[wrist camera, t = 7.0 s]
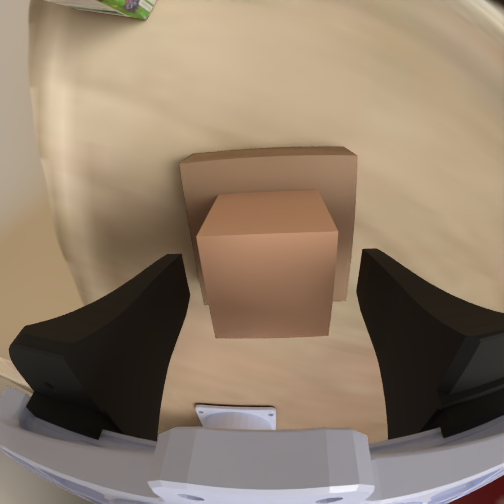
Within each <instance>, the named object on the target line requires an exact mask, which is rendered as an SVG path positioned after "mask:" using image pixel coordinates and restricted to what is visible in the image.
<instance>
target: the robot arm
mask: <svg viewBox="0 0 504 504" xmlns="http://www.w3.org/2000/svg"><path fill="white" fill-rule="evenodd" d="M356 292H357V297H358V302H359V306H360V310H361V313H362V316H363V319H364V322H365V324H366V327H367V330H368V333H369V335H370V338H371V341H372V344H373V347H374V349H375V352H376V356H377V359H378V363H379V367H380V372H381V378H382V383H383V390H384V396H385V404H386V413H387V424H388V440H385V441H380V442H374V443H368V439H367V435H365V434H363V433H360V432H358V431H355V430H352V429H350V428H330V427H322V428H308V429H283V430H276V409H275V408H273V407H230V406H212V405H196V407H195V410H196V412H197V415H198V417H199V419H200V421H201V424H202V426H203V427H200V426H194V427H174V428H172V429H170V430H167V431H165V432H163V433H161V434H159V437H158V441H157V435H158V424H159V415H160V408H161V401H162V395H163V389H164V384H165V379H166V374H167V370H168V365H169V362H170V359H171V355H172V353H173V350H174V347H175V344H176V342H177V339H178V336H179V333H180V331H181V328H182V325H183V322H184V320H185V317H186V313H187V309H188V304H189V299H190V292H189V287H188V282H187V278H186V273H185V268H184V263H183V258H182V254H167V255H165V256H164V257H162V258H160V259H159V260H157V261H156V262H155V263H153V264H152V265H150V266H149V267H148V268H146V269H145V270H144V271H142V272H141V273H139V274H138V275H137V276H135V277H134V278H132V279H131V280H129V281H128V282H126V283H125V284H123V285H122V286H120V287H119V288H118V289H116V290H114V291H113V292H111V293H109V294H108V295H106V296H104V297H102V298H100V299H99V300H97V301H95V302H93V303H91V304H88V305H86V306H84V307H82V308H80V309H78V310H75V311H73V312H70V313H68V314H65V315H62V316H59V317H57V318H54V319H50V320H47V321H43V322H39V323H35V324H32V325H27V326H25V327H24V328H23V329H22V330H21V332H20V333H19V334H18V335H17V337H16V338H15V339H14V341H13V342H12V344H11V345H10V347H9V354H10V358H11V360H12V362H13V364H14V366H15V367H16V369H17V370H18V371H19V373H20V374H21V375H22V377H23V378H24V379H25V381H26V382H27V383H28V384H29V386H30V387H31V388H32V389H33V390H34V393H33V395H32V397H30V396H28V395H27V394H25V393H24V392H22V391H19V390H17V389H15V388H12V387H11V386H6V388H5V389H4V391H3V393H2V395H1V396H0V450H1V451H3V452H4V453H5V454H7V455H8V456H9V457H10V458H12V459H13V460H14V461H16V462H17V463H18V464H20V465H21V466H23V467H24V468H26V469H28V470H29V471H31V472H33V473H34V474H36V475H38V476H40V477H42V478H43V479H45V480H47V481H49V482H51V483H53V484H55V485H57V486H59V487H60V488H62V489H64V490H66V491H69V492H71V493H73V494H75V495H77V496H79V497H81V498H84V499H86V500H88V501H91V502H93V503H96V504H446V503H448V502H451V501H453V500H455V499H458V498H460V497H462V496H464V495H466V494H468V493H470V492H472V491H474V490H476V489H478V488H480V487H482V486H484V485H486V484H488V483H490V482H492V481H493V480H495V479H497V478H499V477H501V476H502V475H504V313H501V312H496V311H493V310H490V309H486V308H483V307H480V306H477V305H475V304H472V303H469V302H467V301H465V300H462V299H460V298H457V297H455V296H453V295H451V294H449V293H447V292H445V291H443V290H441V289H439V288H437V287H436V286H434V285H432V284H430V283H429V282H427V281H425V280H424V279H422V278H421V277H419V276H417V275H416V274H414V273H413V272H411V271H410V270H408V269H407V268H406V267H404V266H403V265H401V264H400V263H398V262H397V261H395V260H394V259H393V258H391V257H390V256H388V255H387V254H385V253H384V252H382V251H380V250H378V249H362V256H361V263H360V270H359V277H358V283H357V290H356Z"/></svg>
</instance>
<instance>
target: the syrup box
mask: <svg viewBox="0 0 504 504" xmlns="http://www.w3.org/2000/svg"><path fill="white" fill-rule="evenodd" d="M45 1H49V2H53V3H57V4H60V5H64V6H67V7H71V8H74V9H78V10H85V11H92V12H99V13H107V14H113V15H120V16H126V17H133V18H139V19H143V20H145V19H147V18H148V16H149V14H150V12H151V10H152V9H153V7H154V5H155V3H156V1H157V0H45Z"/></svg>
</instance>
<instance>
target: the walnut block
mask: <svg viewBox="0 0 504 504" xmlns="http://www.w3.org/2000/svg"><path fill="white" fill-rule="evenodd" d="M179 165H180V172H181V179H182V186H183V192H184V198H185V205H186V211H187V217H188V223H189V228H190V234H191V240H192V245H193V251H194V256H195V261H196V267H197V272H198V277H199V282H200V287H201V292H202V296H203V301H204V305H209V303H208V298H207V293H206V288H205V283H204V278H203V272H202V267H201V261H200V255H199V250H198V244H197V238H196V236H197V234H198V233H199V231H200V229H201V227H202V225H203V223H204V221H205V219H206V217H207V215H208V213H209V212H210V210H211V208H212V206H213V204H214V202H215V200H216V199H217V197H218V195H219V194H232V193H249V192H271V191H300V190H318V192H319V194H320V196H321V197H322V199H323V201H324V203H325V205H326V207H327V209H328V211H329V213H330V215H331V217H332V219H333V221H334V224H335V226H336V228H337V230H338V244H337V258H336V270H335V281H334V292H333V301H346V296H347V289H348V281H349V272H350V264H351V254H352V244H353V232H354V219H355V204H356V184H357V155H356V154H354V153H353V152H351V151H350V150H348V149H347V148H345V147H279V148H258V149H242V150H229V151H217V152H207V153H197V154H192V155H191V156H189V157H188V158H187V159H185V160H184V161H183V162H181V163H180V164H179ZM333 301H332V302H333Z"/></svg>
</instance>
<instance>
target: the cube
mask: <svg viewBox="0 0 504 504" xmlns="http://www.w3.org/2000/svg"><path fill="white" fill-rule="evenodd" d="M196 238H197V244H198V250H199V255H200V261H201V267H202V272H203V278H204V283H205V288H206V293H207V298H208V303H209V309H210V313H211V318H212V323H213V328H214V333H215V337H216V338H290V337H313V336H328V334H329V327H330V319H331V310H332V301H333V292H334V281H335V270H336V258H337V244H338V230H337V228H336V226H335V224H334V221H333V219H332V217H331V215H330V213H329V211H328V209H327V207H326V205H325V203H324V201H323V199H322V197H321V196H320V194H319V192H318V190H300V191H271V192H249V193H232V194H219V195H218V197H217V199H216V200H215V202H214V204H213V206H212V208H211V210H210V212H209V213H208V215H207V217H206V219H205V221H204V223H203V225H202V227H201V229H200V231H199V233H198V234H197V236H196Z"/></svg>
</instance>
